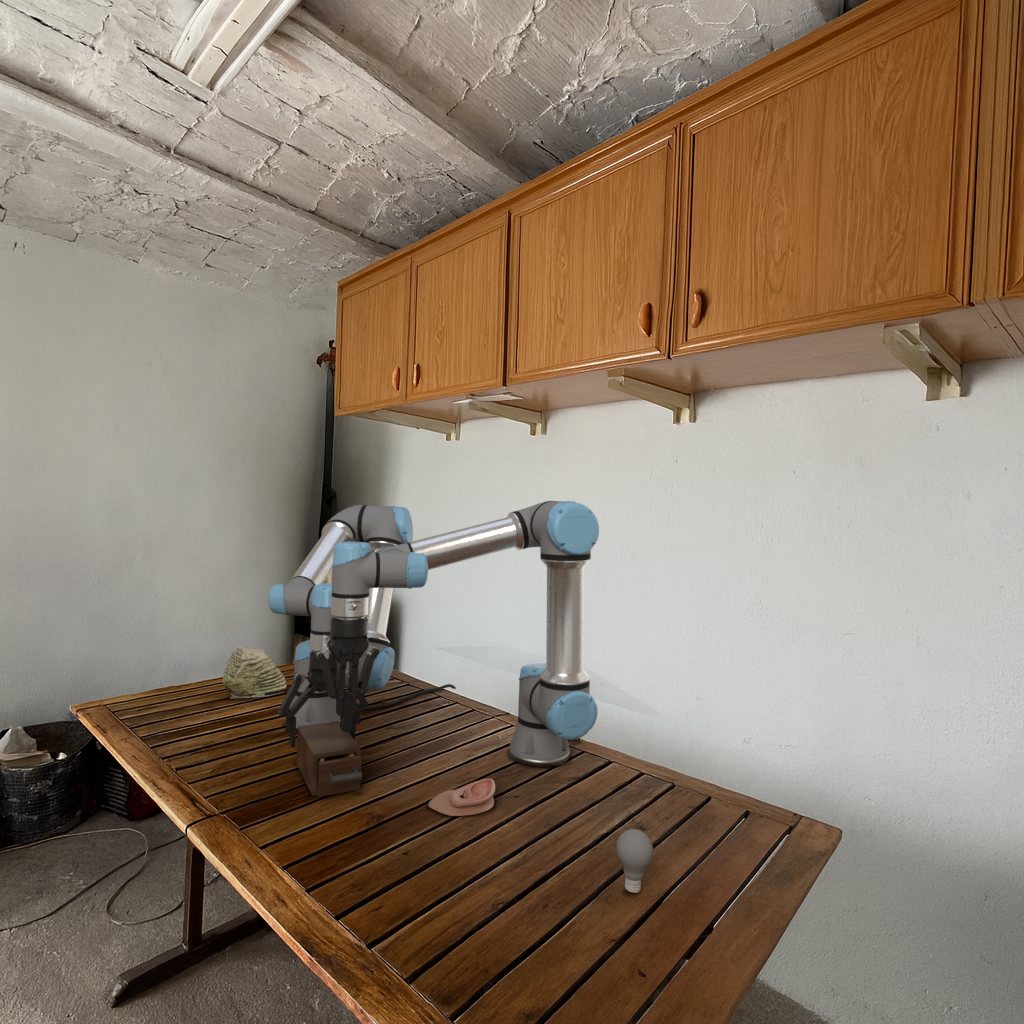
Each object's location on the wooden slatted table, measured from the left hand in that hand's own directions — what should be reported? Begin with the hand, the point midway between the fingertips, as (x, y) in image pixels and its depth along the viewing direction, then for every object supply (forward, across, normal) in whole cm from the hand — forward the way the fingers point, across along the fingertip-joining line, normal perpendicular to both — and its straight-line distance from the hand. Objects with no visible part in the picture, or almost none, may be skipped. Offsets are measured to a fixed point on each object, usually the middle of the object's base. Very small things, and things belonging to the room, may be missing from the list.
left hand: (322, 741), depth 148 cm
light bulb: (+7, +36, -68) cm, 77 cm away
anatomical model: (+6, +22, -29) cm, 37 cm away
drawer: (+5, 0, -10) cm, 12 cm away
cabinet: (+6, 0, -4) cm, 7 cm away
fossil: (+6, -7, +62) cm, 62 cm away
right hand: (-9, 0, -18) cm, 20 cm away
